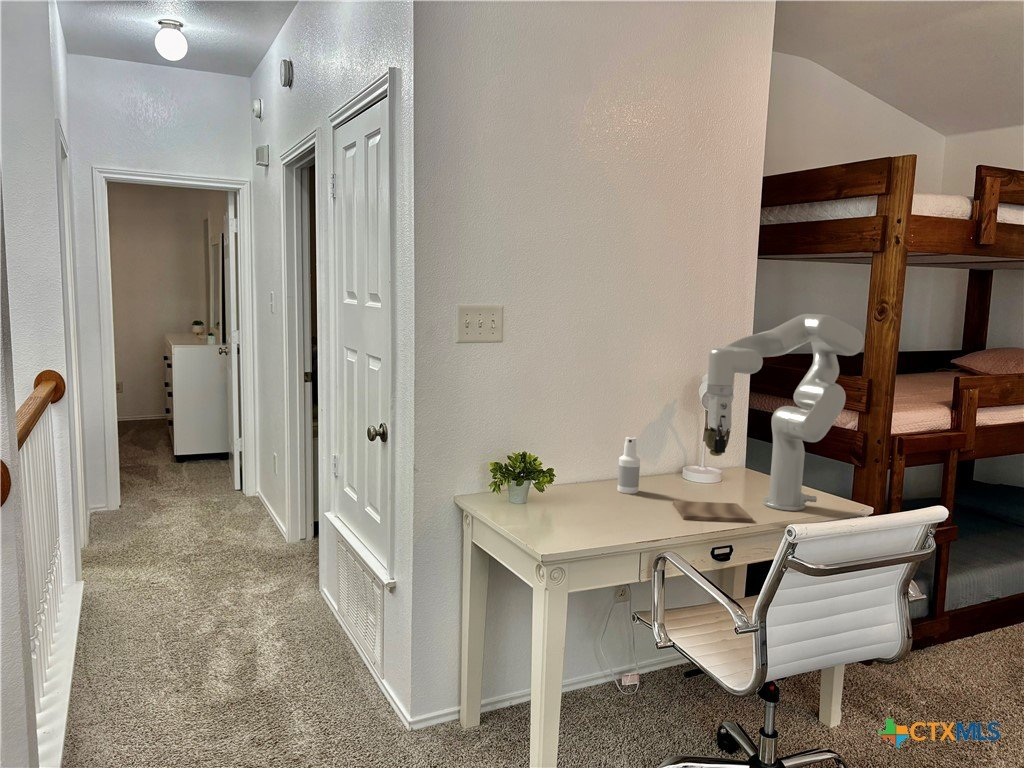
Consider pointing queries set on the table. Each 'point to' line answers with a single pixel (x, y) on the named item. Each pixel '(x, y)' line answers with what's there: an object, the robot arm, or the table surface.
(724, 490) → the table surface
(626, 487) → the spray bottle
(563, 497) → the table surface
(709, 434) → the cup
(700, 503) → the walnut board
